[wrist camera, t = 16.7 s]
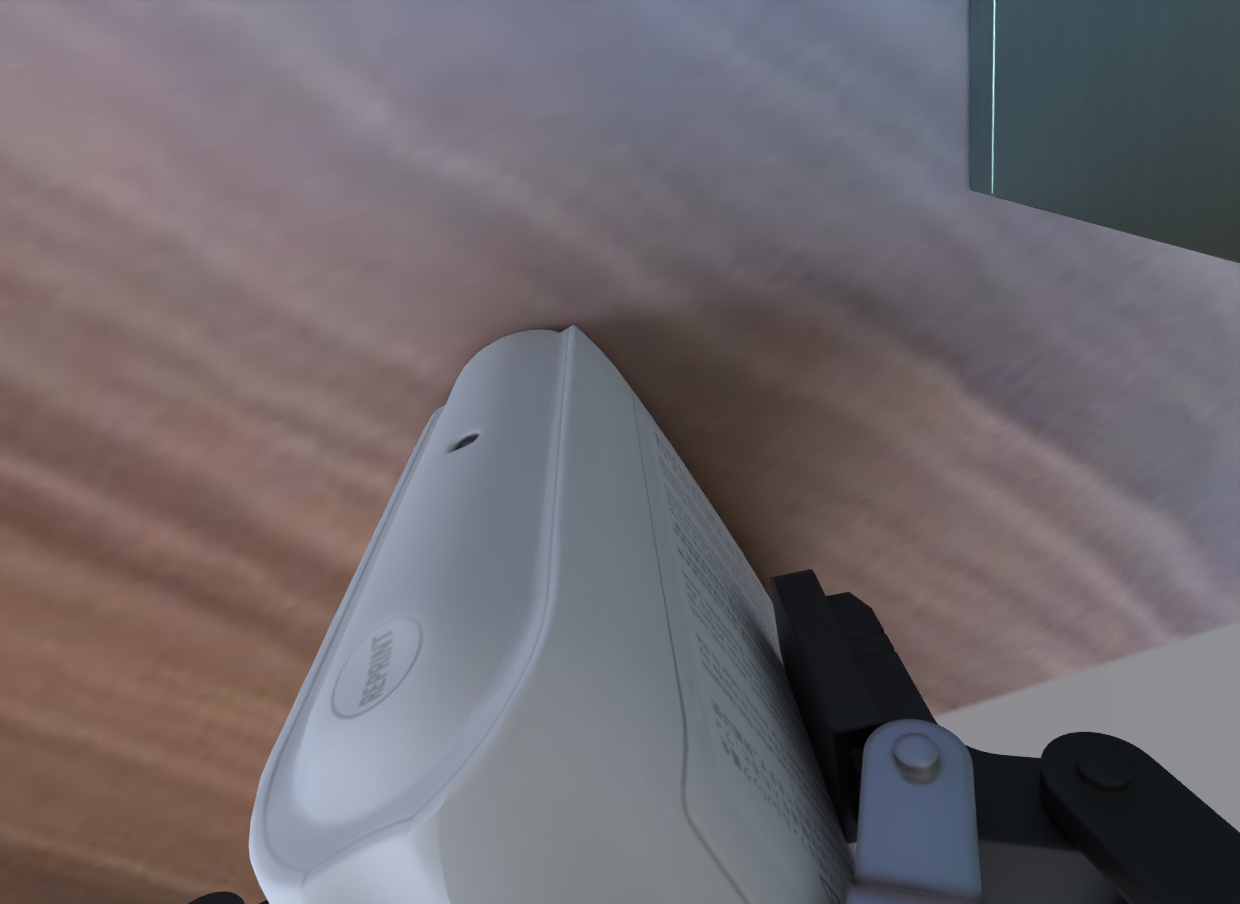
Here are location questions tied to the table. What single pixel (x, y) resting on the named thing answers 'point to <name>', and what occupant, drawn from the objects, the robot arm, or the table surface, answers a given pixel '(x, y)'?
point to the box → (1112, 114)
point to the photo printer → (548, 677)
